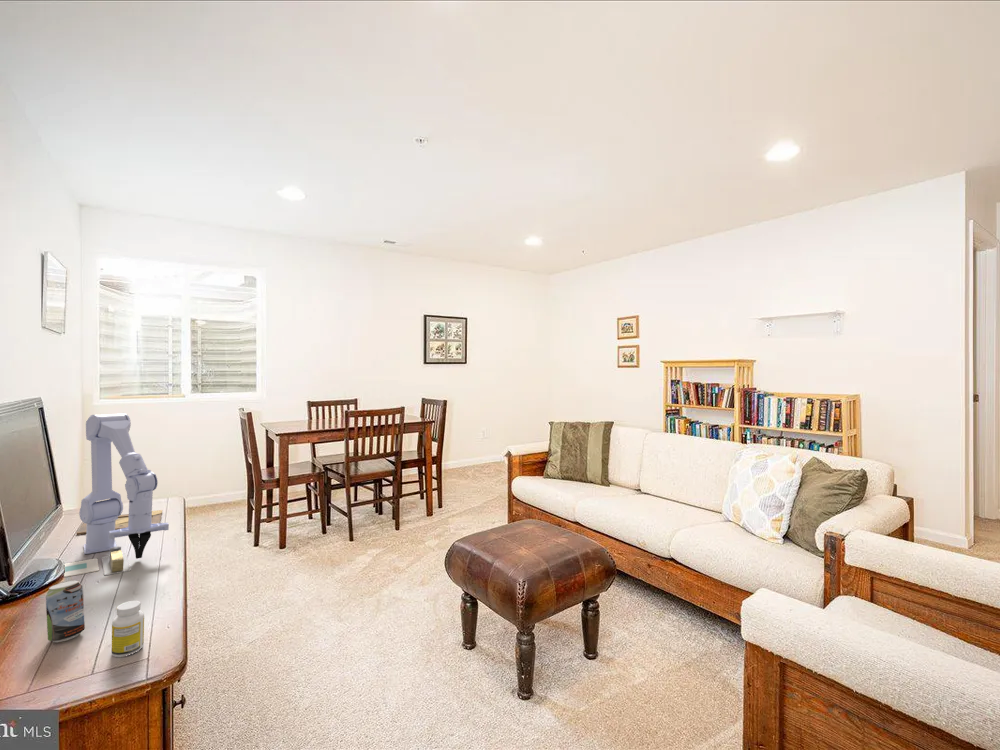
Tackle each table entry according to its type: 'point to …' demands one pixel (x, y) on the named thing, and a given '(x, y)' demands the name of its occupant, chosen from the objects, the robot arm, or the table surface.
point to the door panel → (95, 565)
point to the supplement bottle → (127, 629)
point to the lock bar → (116, 561)
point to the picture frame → (124, 522)
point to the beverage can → (65, 611)
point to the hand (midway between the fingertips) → (138, 557)
